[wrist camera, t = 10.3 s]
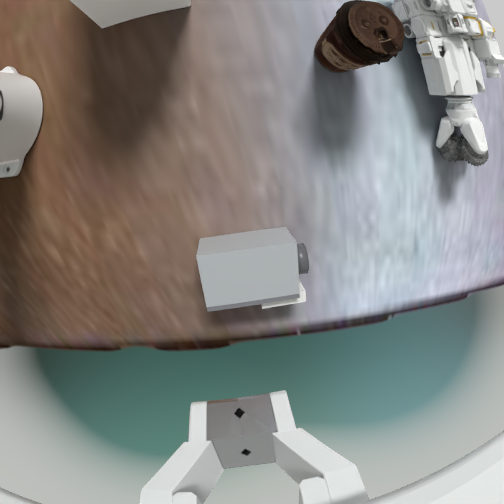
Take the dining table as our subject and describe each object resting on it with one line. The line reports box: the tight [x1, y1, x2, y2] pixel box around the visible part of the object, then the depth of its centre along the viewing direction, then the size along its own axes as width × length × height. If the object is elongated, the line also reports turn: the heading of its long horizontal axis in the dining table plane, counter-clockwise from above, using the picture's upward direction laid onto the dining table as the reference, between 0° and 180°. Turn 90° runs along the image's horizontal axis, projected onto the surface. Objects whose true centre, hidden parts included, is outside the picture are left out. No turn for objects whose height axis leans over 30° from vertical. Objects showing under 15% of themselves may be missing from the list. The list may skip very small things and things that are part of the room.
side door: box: [261, 280, 306, 310], centre depth 42 cm, size 6×2×5 cm, turn 96°
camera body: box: [196, 227, 309, 312], centre depth 41 cm, size 14×8×7 cm, turn 96°
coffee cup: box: [315, 0, 405, 72], centre depth 29 cm, size 9×8×13 cm
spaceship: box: [392, 0, 504, 166], centre depth 30 cm, size 16×35×12 cm, turn 18°
